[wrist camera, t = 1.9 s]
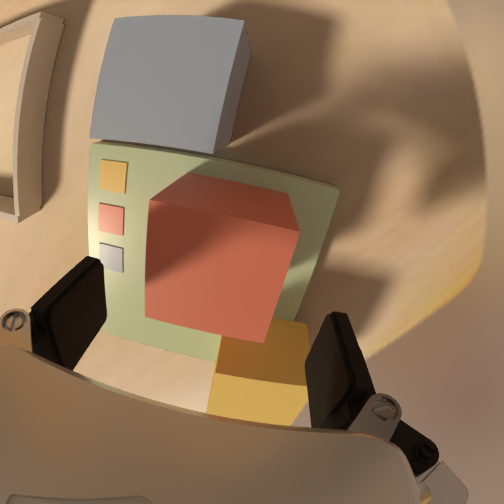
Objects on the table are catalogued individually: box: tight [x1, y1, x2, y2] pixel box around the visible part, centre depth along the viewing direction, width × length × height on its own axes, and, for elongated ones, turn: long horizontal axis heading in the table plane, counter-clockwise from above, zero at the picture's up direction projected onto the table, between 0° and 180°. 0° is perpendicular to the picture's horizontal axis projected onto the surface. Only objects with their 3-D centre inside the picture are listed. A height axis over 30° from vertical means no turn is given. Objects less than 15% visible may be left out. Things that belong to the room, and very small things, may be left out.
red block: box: [145, 172, 300, 343], centre depth 15 cm, size 6×6×6 cm
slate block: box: [90, 15, 251, 154], centre depth 12 cm, size 6×6×6 cm
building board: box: [88, 141, 340, 362], centre depth 19 cm, size 16×16×1 cm
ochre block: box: [206, 318, 311, 426], centre depth 19 cm, size 6×6×6 cm
